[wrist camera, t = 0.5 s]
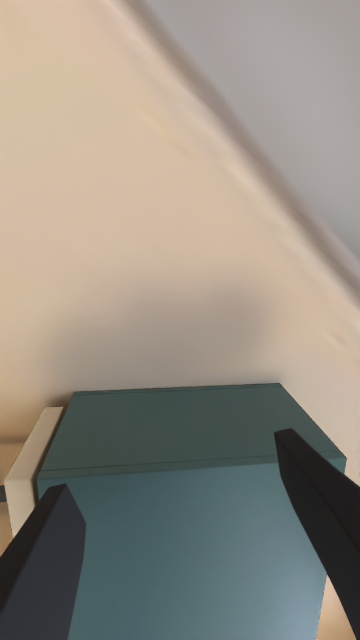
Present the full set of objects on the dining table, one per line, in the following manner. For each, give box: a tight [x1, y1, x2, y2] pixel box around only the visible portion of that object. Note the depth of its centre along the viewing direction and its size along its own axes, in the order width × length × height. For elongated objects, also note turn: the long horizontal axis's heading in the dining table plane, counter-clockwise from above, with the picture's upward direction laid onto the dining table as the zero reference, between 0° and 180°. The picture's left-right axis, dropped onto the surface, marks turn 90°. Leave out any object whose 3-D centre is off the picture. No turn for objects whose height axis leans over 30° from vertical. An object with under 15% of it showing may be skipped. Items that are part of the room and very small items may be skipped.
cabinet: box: [36, 383, 347, 640], centre depth 20 cm, size 14×13×8 cm
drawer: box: [0, 407, 64, 538], centre depth 19 cm, size 18×12×6 cm, turn 89°
